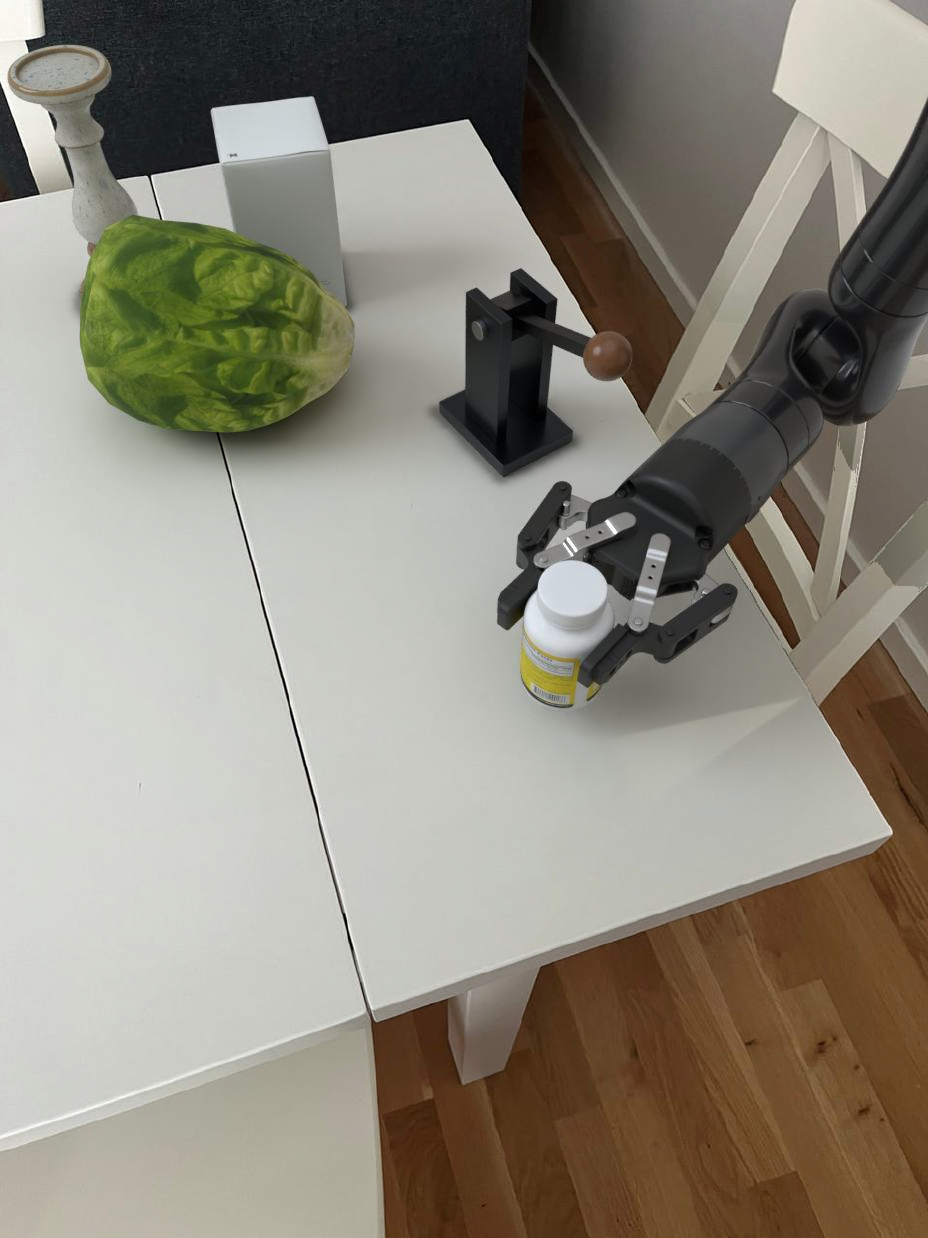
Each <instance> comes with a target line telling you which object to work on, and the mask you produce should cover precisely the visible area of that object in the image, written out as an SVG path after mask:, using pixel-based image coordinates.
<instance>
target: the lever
mask: <svg viewBox="0 0 928 1238" xmlns="http://www.w3.org/2000/svg"><path fill="white" fill-rule="evenodd" d="M489 299H490V300H492V301H493V302H494V303H495V304H496V305H497V306H498V307H499V308H501V309H502V310H503V311H504V312H505V313H506V314H507V315H508V316H510V317H511V318H512V320H513V321H512V339H511V341H514V340H516V339H518V338H520V337H523V336H525V335H527V334H528V335H531V336H533V337H535V338H538V339H540V340H542V341H545V342H547V343H549V344H552V345H553V347H556V348H558V349H561V350H564V351H566V352H568V353H570V354H573V355H575V356H577V357H580V358H581V359H582V360H583V366H584V368H585V371H587V373H588V375H589V376H591V377H592V378H594V379H595V380H597V381H600V382H605V383H607V382H613V381H617V380H619V379H621V378H622V377H623V376H625V375H626V373H627V372H628V371H629V369H630V368H631V365H632V362H633V348H632V346H631V343H630V342H629V340H628V339H627V338H626V337H625V336H624V335H623V334H621V333H620V332H617V331H613V330H604V331H600V332H598V333H596V334H595V335H593V336H592V337H591V336H588V335H586V334H583V333H580V332H578V331H576V330H573V329H571V328H568V327H566V326H564V325H561V324H558V323H556V322H555V323H553V322H551V321H548V320H546V319H543V318H541V317H539V316H536V315H534V314H533V308H532V300H531V299H529V298H526V297H524V296H521V295H519V294H516V293H514V292H511V291H510V290H507V291H505V292H503V293H500V294H498V295H496V296H494V297H492V298H489Z"/></svg>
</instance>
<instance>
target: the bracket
mask: <svg viewBox="0 0 928 1238" xmlns="http://www.w3.org/2000/svg"><path fill="white" fill-rule="evenodd" d="M509 274H510V276H509V291H511V292H514V293H516V294H519V295H521V296H524V297H526V298H529V299H531V300H532V308H533V314H534V315H536V316H539V317H541V318H543V319H546V320H548V321H551V322H553V323H556V320H557V311H558V301H559V299H558V297H557V296H555V295H554V294H553V293H552V292H551V291H549V290H548V289H547V288H546V287H545V286H544V285H542V284H541V283H540V282H539V281H537V280H536V279H535V278H534V277H532V276H531V275H530V274H529V273H528V272H527V271H525V270H524V269H523V268H522V267H520V268H517V269H516V270H513V271H511V272H510V273H509ZM490 299H491V298H490V297H489V296H487V295H486V294H485V293H484V292H483V291H481V290H480V289H479V288H478V287H476V286H475V287H474V288H472V289H469V290H467V291H465V336H464V337H465V349H464V350H465V352H464V353H465V354H464V355H465V356H464V357H465V358H464V360H465V361H464V363H465V364H464V365H465V367H464V370H465V371H464V389H463V390H460V391H458V392H456V393H454V394H452V395H450V396H447V397H445V398H443V399H441V400H439V402H438V409H439V413H440V414H441V415H442V416H443V418H445V419H446V421H448V423H449V424H450V425H451V426H452V427H453V428H454V429H456V431H457V432H458V433H459V434H460V435H461V436H462V437H463V438H464V439H465V440H466V441H467V442H468V443H469V444H470V445H471V446H472V447H473V448H474V449H475V450H476V451H477V452H478V453H479V454H480V455H481V456H482V457H483V459H485V460H486V462H488V463H489V464H490V466H492V467H493V469H495V470H496V472H497V473H498V474H499V475H500V476H501V477H505V476H508V475H509V474H511V473H513V472H515V471H517V470H519V469H521V468H523V467H525V466H527V465H529V464H531V463H533V462H535V461H537V460H538V459H540V458H542V457H544V456H546V455H548V454H550V453H552V452H554V451H556V450H557V449H560V448H562V447H563V446H565V445H568V444H570V443H572V441H573V437H574V436H573V435H574V430H573V429H572V428H571V427H570V426H569V425H568V424H566V422H564V420H562V419H561V418H560V417H559V416H558V415H557V414H556V413H555V412H554V411H553V410H551V408H549V406H548V402H549V393H550V391H549V390H550V381H551V373H552V362H553V352H554V345H552V344H549V343H547V342H545V341H542V340H540V339H538V338H535V337H533V336H531V335H528V334H527V335H525V336H523V337H520V338H518V339H516V340H514V341H511V339H512V321H513V320H512V318H511V317H510V316H508V315H507V314H506V313H505V312H504V311H503V310H502V309H501V308H499V307H498V306H497V305H496V304H495V303H494V302H493V301H492V300H490Z"/></svg>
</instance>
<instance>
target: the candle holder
mask: <svg viewBox="0 0 928 1238" xmlns="http://www.w3.org/2000/svg"><path fill="white" fill-rule="evenodd" d="M112 75H113V70H112V67H111V63H110V62H109V60H108V59H107V57H106V56H105V55H104V54H103V53H102V52H100V50H97V49H95V48H93V47H89V46H85V45H78V44H58V45H50V46H45V47H42V48H37V49H35V50H31V51H30V52H27V53H25V54H23V55H21V56H19V58H17V59H15V60H14V62H12V63H11V65H10V67H8V71H7V84H8V87H9V90H10V91H11V92H12V93H13V95H14V96H15V97H17V98H19V99H20V100H22V101H25V102H27V103H32V104H35V105H36V104H37V105H40V107H41V108H43V109H44V110H45V111H47V112H49V113H50V114H51V115H53V117H54V119H55V120H56V128H55V132H54V135H53V136H54V141H55V143H56V144H57V145H58V146H60V147H62V148H63V149H64V150H65V152H66V154H67V157H68V162H69V165H70V168H71V172H72V176H73V177H72V178H73V193H72V198H71V199H72V200H71V218H72V223H73V226H74V228H75V230H76V231H77V233H78V234H79V235H80V236H81V237H82V238H83V239H84V240H85V241H87V242H88V243H87V246H86V251H87V252H86V253H87V254H88V257H89V258H90V257H91V255H92V253H93V251H94V249H95V248H96V246H97V244H98V242H99V240H100V238H101V236H102V234H103V232H104V230H105V228H106V227H108V226H110V225H112V224H115V223H117V222H119V221H121V220H123V219H125V218H127V217H129V216H131V215H137V216H139V211H138V207H137V206H136V203H135V202H134V200H133V198H132V197H131V195H130V193H128V191H126V189H125V188H124V187H123V186H122V185H121V184H120V183H119V181H118V180H117V179H116V177H115V176H114V174H113V173H112V171H111V169H110V167H109V165H108V162H107V160H106V157H105V154H104V151H103V148H102V143H101V140H102V139H103V138H104V135H105V130H104V128H103V127H102V125H100V124H99V123H98V122H97V121H96V120H95V119H94V118H93V116H92V114H91V106H92V104H93V102H94V101H95V98H96V94H98V93H99V92H101V91H103V90H104V89H105V88H106V87H108V84H109V83H110V82H111V80H112ZM84 281H85V278H84V279H83V280H82V281H81V284H80V286H79V289H78V296H79V300H80V301H81V297H82V292H83V286H84Z"/></svg>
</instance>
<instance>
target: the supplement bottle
mask: <svg viewBox="0 0 928 1238" xmlns="http://www.w3.org/2000/svg"><path fill="white" fill-rule="evenodd" d="M608 585H609V584H607V582H606V580H605V578H604V576H603V575H602V573H601V572H600V571H599V570H598V569H596V568H595V567H593V566H592V565H590V564H587V563H584V562H581V561H574V560H569V561H562V562H558V563H556V564H553V565H552V566H550V567H549V568H547V569H546V570H545V571H544V572H543V574H542V575H541V577H540V579H539V582H538V589H537V590H536V591H535V592H534V593H533V594H532V595H531V596H530V598H529V600H528V601H527V604H526V606H525V610H524V616H523V617H522V632H521V649H520V662H519V664H520V665H519V666H520V668H519V671H520V672H519V676H520V681H521V684H522V687H523V689H524V691H525V692H526V694H527V695H528V697H529V698H530V699H531V700H532V701H533V702H535V703H536V704H537V705H539V706H540V707H543V708H545V709H547V710H550V711H556V712H572V711H576V710H579V709H582V708H584V707H585V706H588V705H589V704H591V702H593V701H594V700H595V699H596V698H597V697H598V695H599V694H600V692H601V690H602V687H603V684H602V685H600V686H599V685H598V684H597V683H595V682H594V683H593V684H592V685H591V686H590V687H588V688H586V687H585V686H583V685H582V684H580V683H579V682H578V681H577V678H578V672H579V667H580V665H581V663H582V662H583V661H584V659H585V658H586V657H587V656H588V655H589V654H590V653H591V652H592V651H593V650H594V649H595V648H596V647H597V646H598V645H599V644H600V643H601V641H602V640H603V639H604V638H605V637H606V636H607V635H608V634H609V633H610V632H611V631H612V630H613V629H614V628H615V619H616V617H615V611H614V608H613V606H612V604H611V602H610V600H609V599H608V595H609V586H608Z"/></svg>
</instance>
